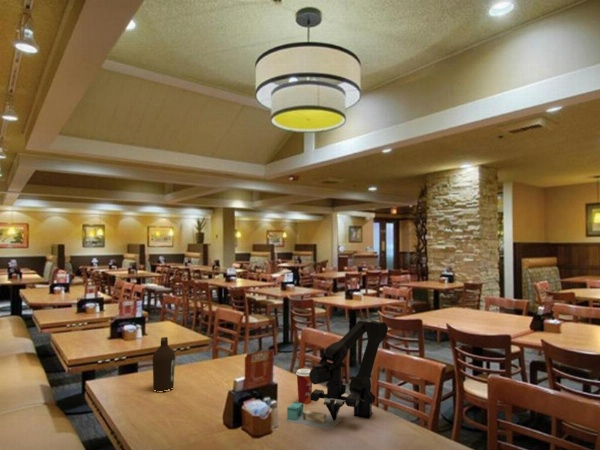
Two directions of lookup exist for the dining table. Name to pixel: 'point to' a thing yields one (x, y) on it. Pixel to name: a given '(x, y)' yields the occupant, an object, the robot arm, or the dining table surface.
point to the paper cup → (304, 386)
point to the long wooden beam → (314, 416)
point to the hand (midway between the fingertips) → (334, 420)
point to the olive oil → (163, 367)
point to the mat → (326, 425)
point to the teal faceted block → (294, 410)
